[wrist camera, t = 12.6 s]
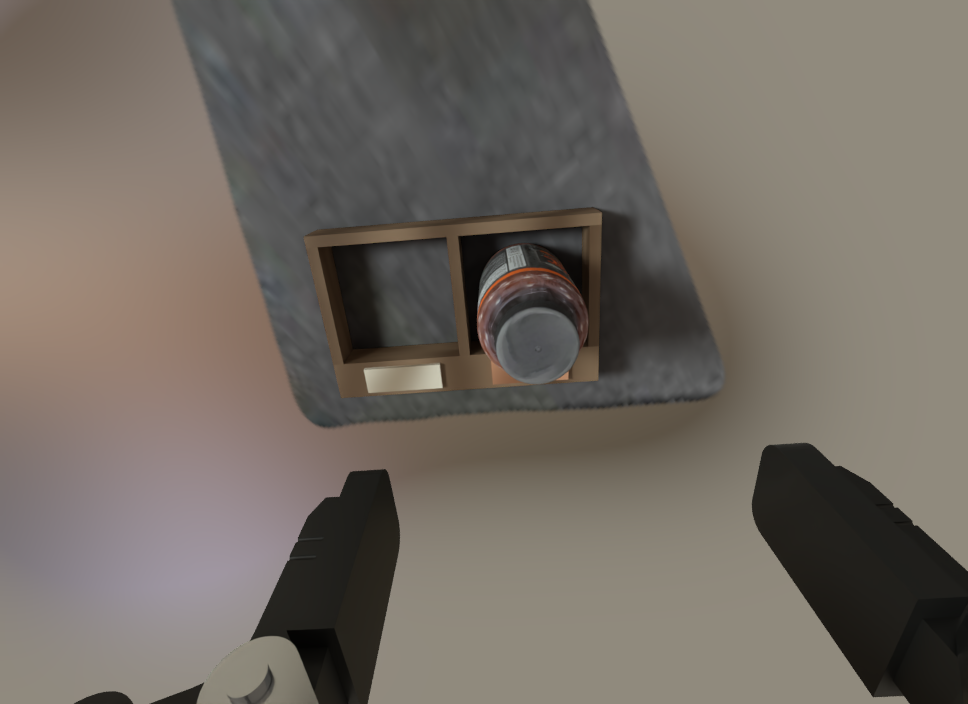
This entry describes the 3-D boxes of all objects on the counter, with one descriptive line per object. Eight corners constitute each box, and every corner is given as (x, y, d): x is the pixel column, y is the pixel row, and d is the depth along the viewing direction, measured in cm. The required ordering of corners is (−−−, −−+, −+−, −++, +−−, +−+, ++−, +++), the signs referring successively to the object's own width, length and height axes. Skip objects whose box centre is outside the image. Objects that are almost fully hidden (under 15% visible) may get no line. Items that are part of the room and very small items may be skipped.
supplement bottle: (583, 286, 32) (628, 354, 22) (517, 340, 34) (531, 426, 24) (527, 221, 31) (548, 261, 20) (461, 280, 32) (449, 345, 22)
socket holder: (593, 207, 30) (603, 213, 28) (590, 364, 35) (599, 382, 32) (317, 229, 31) (301, 237, 28) (350, 381, 35) (339, 400, 33)
